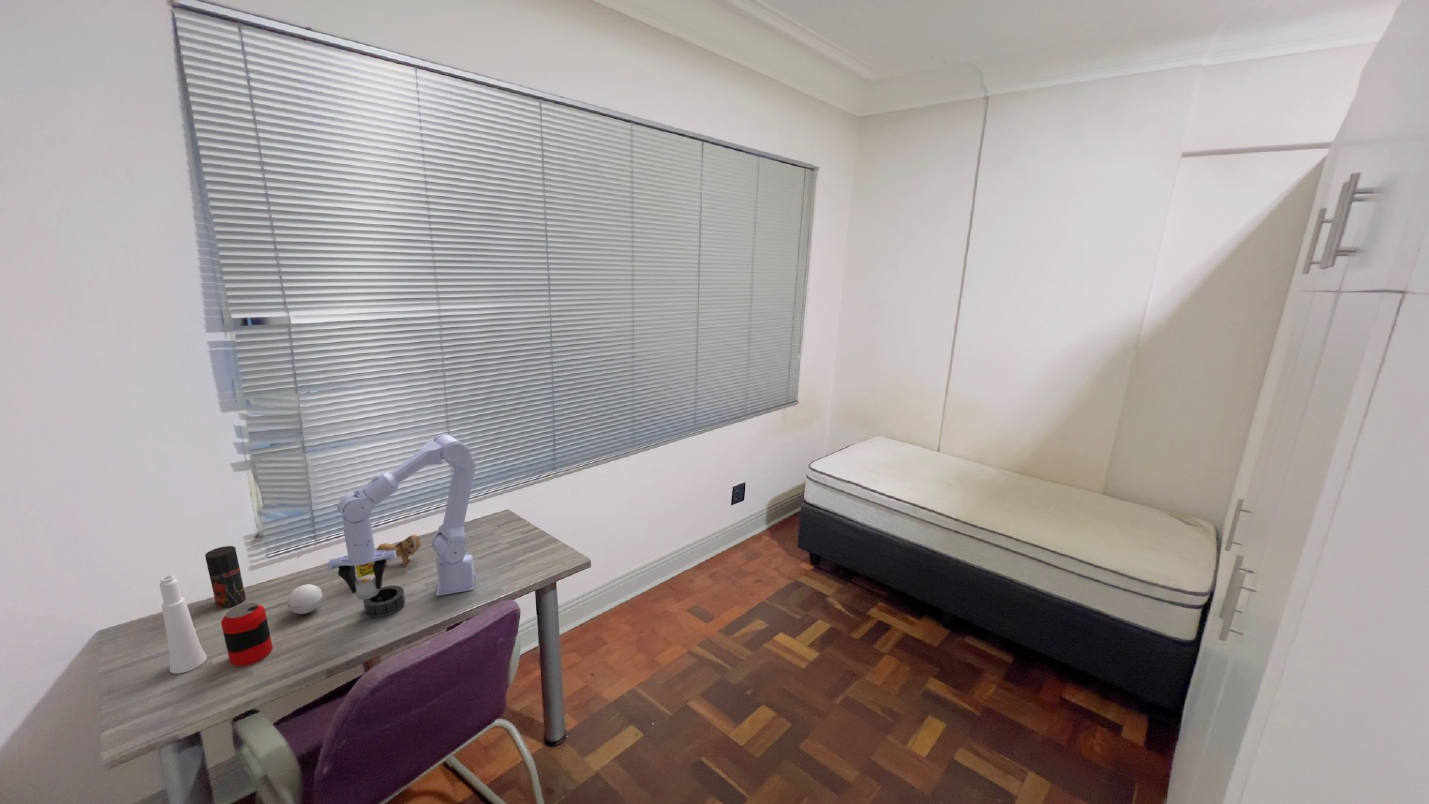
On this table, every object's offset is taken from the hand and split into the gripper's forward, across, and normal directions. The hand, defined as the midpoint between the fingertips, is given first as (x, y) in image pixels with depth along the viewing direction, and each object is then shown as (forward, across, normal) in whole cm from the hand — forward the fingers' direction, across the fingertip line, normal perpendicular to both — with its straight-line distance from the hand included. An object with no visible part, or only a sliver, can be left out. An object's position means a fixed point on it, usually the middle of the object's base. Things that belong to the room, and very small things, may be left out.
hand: (367, 588), depth 136 cm
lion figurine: (+9, -2, -28) cm, 29 cm away
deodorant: (+8, +37, -19) cm, 42 cm away
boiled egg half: (+1, 0, 0) cm, 1 cm away
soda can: (+8, +23, +7) cm, 25 cm away
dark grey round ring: (+8, -2, -4) cm, 9 cm away
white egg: (+8, +18, -8) cm, 21 cm away
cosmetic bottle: (+8, +35, +6) cm, 36 cm away
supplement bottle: (+8, +4, -20) cm, 22 cm away
